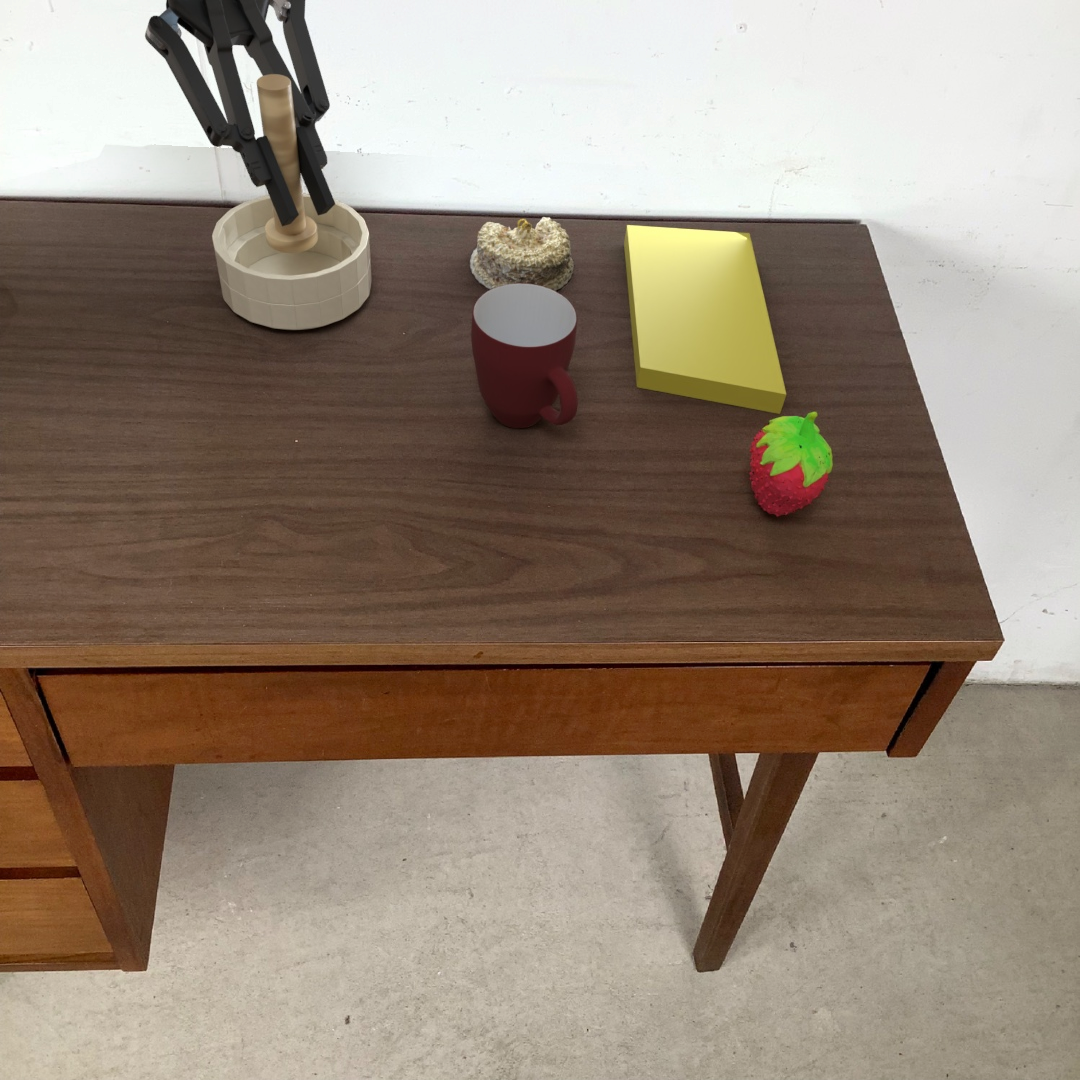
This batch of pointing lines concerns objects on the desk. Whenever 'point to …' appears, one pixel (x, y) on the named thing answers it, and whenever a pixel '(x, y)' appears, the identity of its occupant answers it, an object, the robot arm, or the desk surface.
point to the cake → (523, 255)
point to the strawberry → (789, 464)
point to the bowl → (293, 267)
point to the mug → (525, 353)
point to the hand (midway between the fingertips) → (308, 214)
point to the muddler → (284, 163)
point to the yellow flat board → (701, 317)
